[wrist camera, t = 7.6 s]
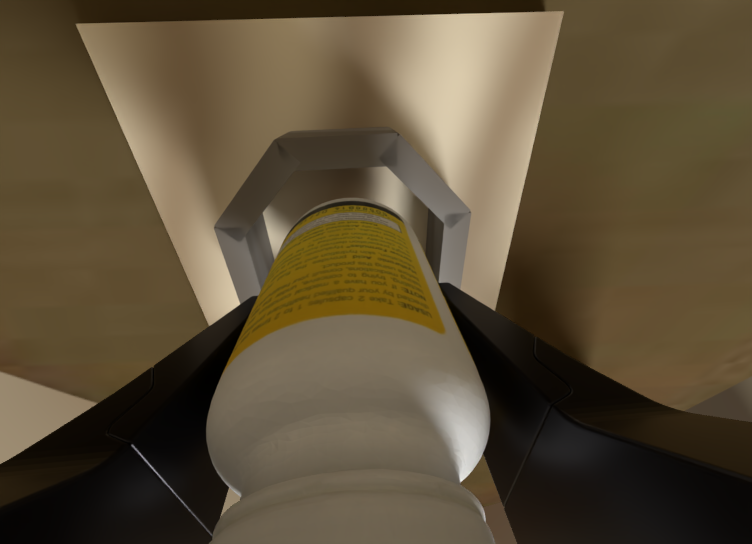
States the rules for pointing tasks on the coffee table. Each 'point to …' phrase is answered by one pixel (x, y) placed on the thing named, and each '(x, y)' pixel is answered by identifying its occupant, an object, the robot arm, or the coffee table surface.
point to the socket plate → (330, 132)
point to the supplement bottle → (350, 395)
